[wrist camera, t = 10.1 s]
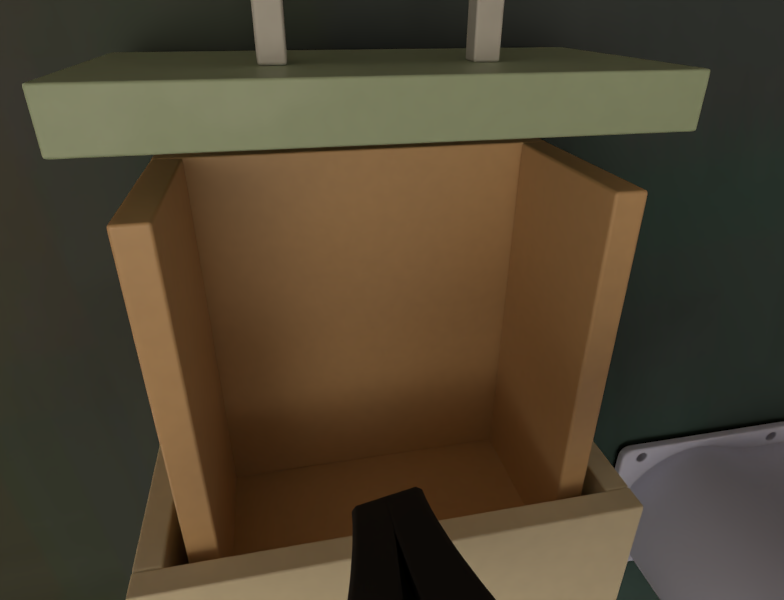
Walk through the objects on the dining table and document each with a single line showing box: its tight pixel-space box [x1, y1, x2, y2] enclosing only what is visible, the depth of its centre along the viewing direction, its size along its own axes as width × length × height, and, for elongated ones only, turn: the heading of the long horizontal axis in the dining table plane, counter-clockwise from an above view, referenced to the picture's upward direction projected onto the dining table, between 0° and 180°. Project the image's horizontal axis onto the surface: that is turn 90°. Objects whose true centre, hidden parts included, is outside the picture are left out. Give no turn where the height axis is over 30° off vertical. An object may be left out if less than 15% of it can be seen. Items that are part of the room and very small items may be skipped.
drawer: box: [22, 0, 710, 564], centre depth 15 cm, size 18×12×6 cm, turn 179°
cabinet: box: [126, 441, 643, 600], centre depth 21 cm, size 16×14×8 cm
